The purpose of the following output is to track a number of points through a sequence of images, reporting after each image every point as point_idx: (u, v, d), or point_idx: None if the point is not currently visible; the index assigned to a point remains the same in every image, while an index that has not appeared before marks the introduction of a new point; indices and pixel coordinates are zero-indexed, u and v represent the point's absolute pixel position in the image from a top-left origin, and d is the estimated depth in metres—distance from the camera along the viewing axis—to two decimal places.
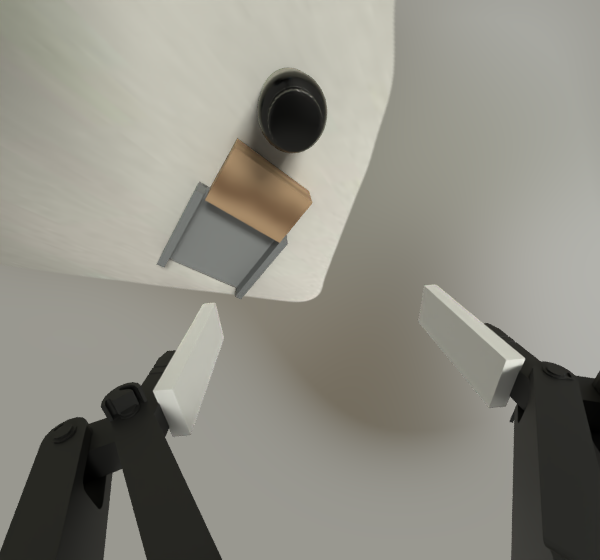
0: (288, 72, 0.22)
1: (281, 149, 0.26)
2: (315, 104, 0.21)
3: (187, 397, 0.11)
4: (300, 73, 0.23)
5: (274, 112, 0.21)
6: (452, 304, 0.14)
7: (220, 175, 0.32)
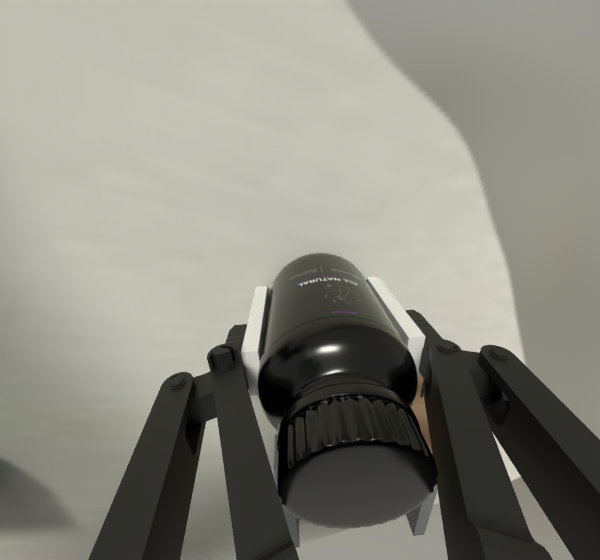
0: (277, 352, 0.10)
1: None
2: (380, 444, 0.07)
3: None
4: (300, 337, 0.09)
5: (295, 503, 0.08)
6: (384, 293, 0.15)
7: None
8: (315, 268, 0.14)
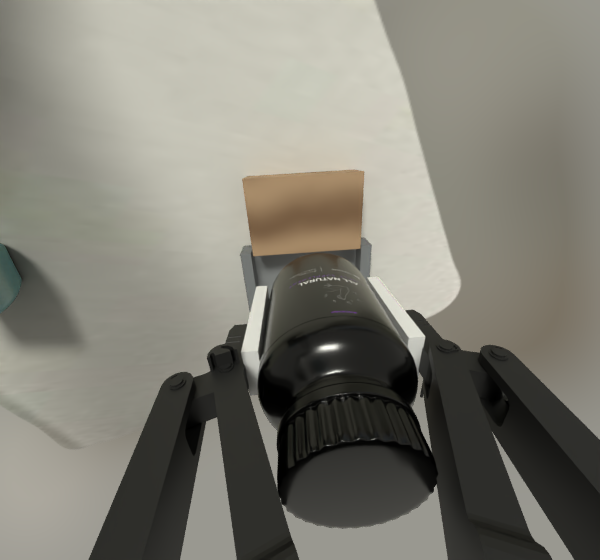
0: (277, 351, 0.10)
1: None
2: (381, 444, 0.07)
3: None
4: (300, 337, 0.09)
5: (295, 503, 0.08)
6: (384, 293, 0.15)
7: (249, 219, 0.27)
8: (315, 268, 0.14)
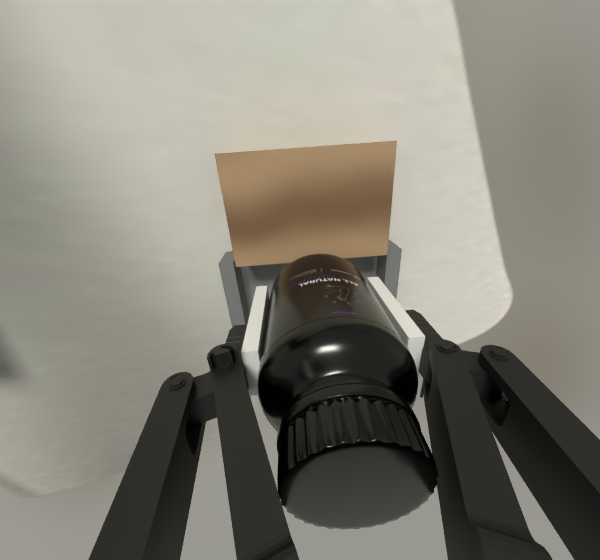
0: (278, 352, 0.10)
1: None
2: (381, 445, 0.07)
3: None
4: (300, 338, 0.09)
5: (295, 504, 0.08)
6: (384, 293, 0.15)
7: (228, 214, 0.18)
8: (315, 268, 0.14)
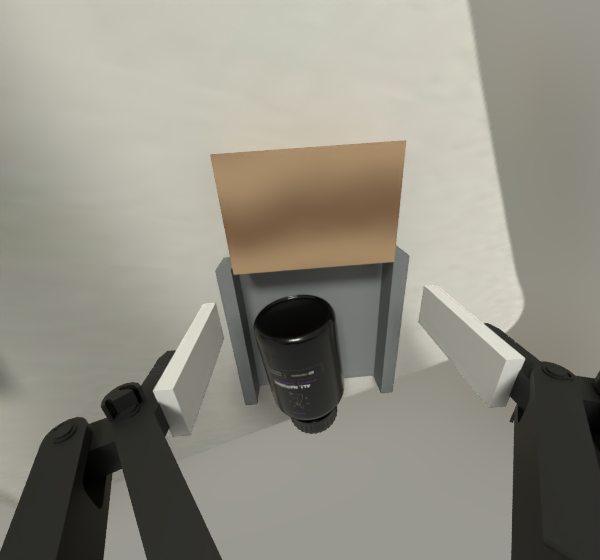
0: (277, 404, 0.23)
1: None
2: None
3: (187, 397, 0.11)
4: None
5: None
6: (452, 304, 0.14)
7: (225, 219, 0.17)
8: (280, 371, 0.19)
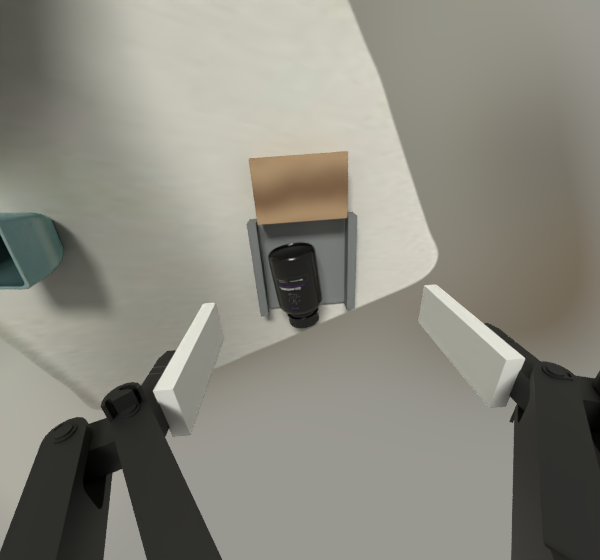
0: (281, 308, 0.38)
1: None
2: (303, 327, 0.39)
3: (187, 397, 0.11)
4: (285, 311, 0.37)
5: None
6: (452, 304, 0.14)
7: (254, 192, 0.32)
8: (283, 279, 0.34)
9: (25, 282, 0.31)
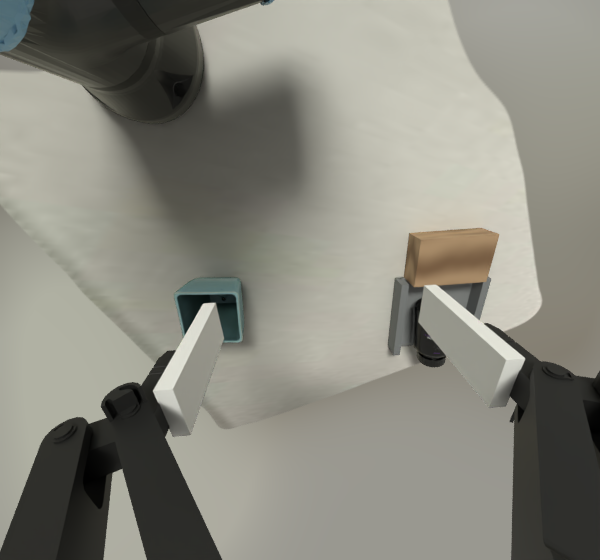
0: (419, 351, 0.46)
1: None
2: (435, 366, 0.47)
3: (187, 397, 0.11)
4: (425, 354, 0.45)
5: None
6: (452, 304, 0.14)
7: (418, 264, 0.40)
8: None
9: (240, 337, 0.38)
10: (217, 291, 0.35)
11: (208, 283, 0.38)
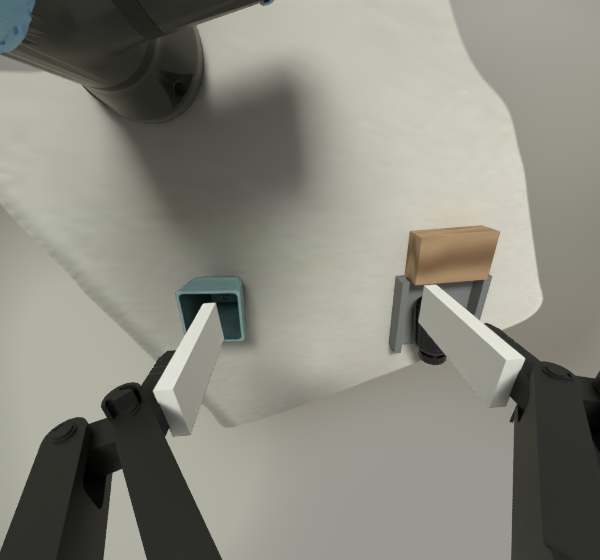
0: (420, 349, 0.46)
1: None
2: (436, 364, 0.47)
3: (187, 397, 0.11)
4: (426, 352, 0.45)
5: None
6: (452, 304, 0.14)
7: (419, 262, 0.40)
8: None
9: (242, 336, 0.39)
10: (218, 290, 0.35)
11: (209, 282, 0.38)
